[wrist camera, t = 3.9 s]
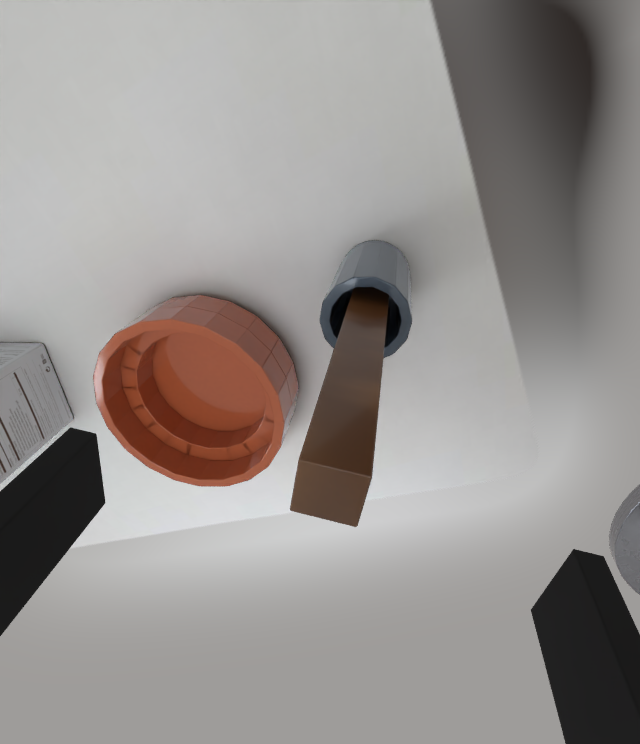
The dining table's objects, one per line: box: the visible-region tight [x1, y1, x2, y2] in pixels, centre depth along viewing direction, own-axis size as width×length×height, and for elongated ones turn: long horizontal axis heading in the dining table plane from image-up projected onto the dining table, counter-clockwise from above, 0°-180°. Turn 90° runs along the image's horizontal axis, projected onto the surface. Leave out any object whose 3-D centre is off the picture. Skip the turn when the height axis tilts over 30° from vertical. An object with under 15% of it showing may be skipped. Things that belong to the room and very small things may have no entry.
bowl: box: [93, 295, 299, 486], centre depth 37 cm, size 16×16×6 cm
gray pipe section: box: [320, 240, 412, 358], centre depth 29 cm, size 5×5×9 cm
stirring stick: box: [290, 287, 389, 527], centre depth 23 cm, size 2×2×22 cm
